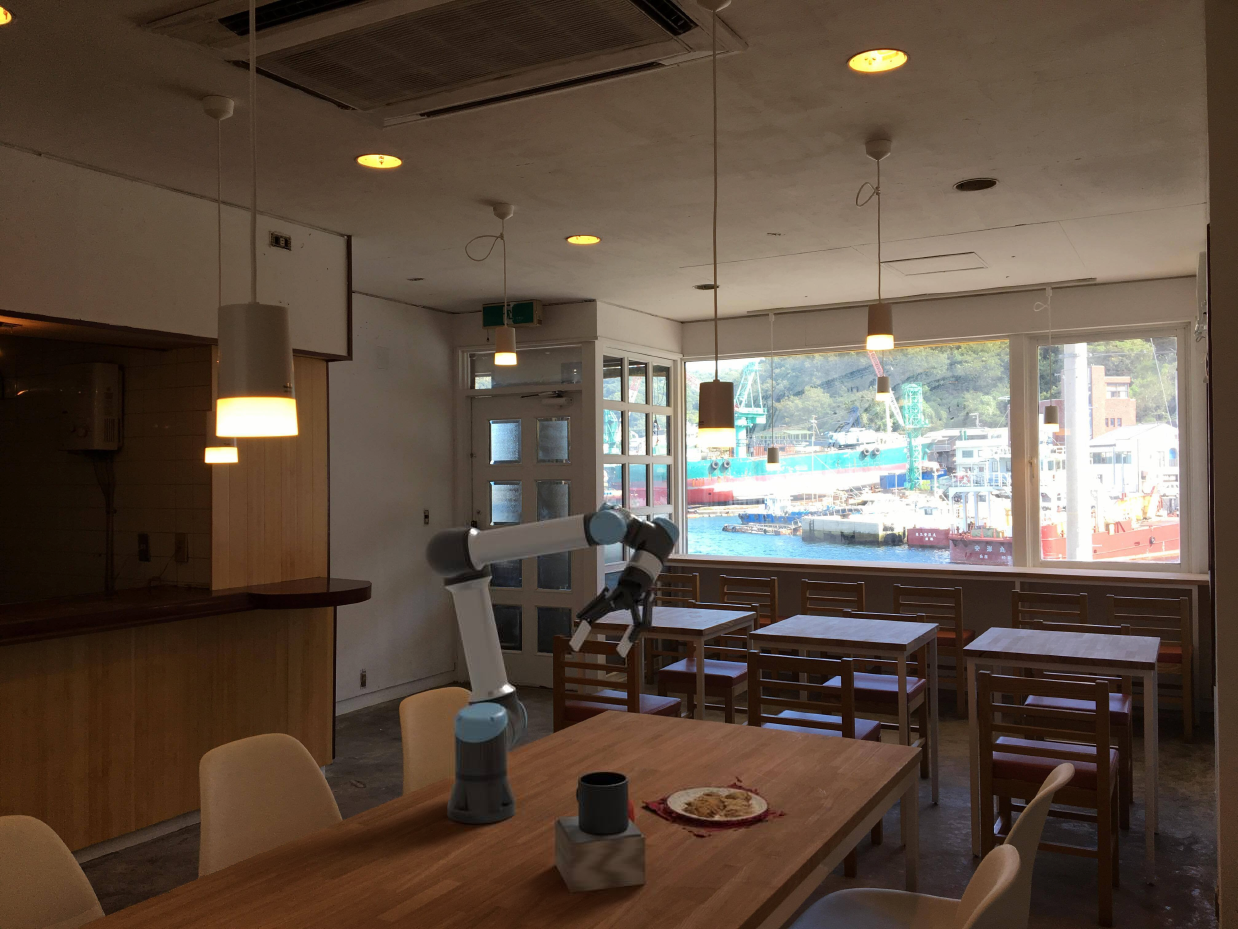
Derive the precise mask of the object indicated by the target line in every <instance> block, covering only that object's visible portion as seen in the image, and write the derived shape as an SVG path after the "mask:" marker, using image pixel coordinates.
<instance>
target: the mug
mask: <svg viewBox="0 0 1238 929" xmlns="http://www.w3.org/2000/svg"><path fill="white" fill-rule="evenodd" d="M575 796H576V802H577V804H578V805H577V809H578V810H577V811H578V814H577V815H578V819H579V828H580V830H581V831H583V832H585V833H589V834H594V835H611V834H616V833H620V832H623V831H625V830H626V829H627V828H628V826H629V803H628V798H629V778H628V776H627V775H625V774H623V773H619V772H613V771H596V772H595V771H593V772H589V773H585V774H583V775H580V776H579V777H578V778H577V788H576V791H575Z"/></svg>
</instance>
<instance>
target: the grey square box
mask: <svg viewBox="0 0 1238 929" xmlns="http://www.w3.org/2000/svg"><path fill="white" fill-rule="evenodd" d="M634 823H635V822H634ZM634 823H633V822H632V821H631V820H630V819H629V826H628V828H627V829H626V830H625V831H623V832H620V833H616V834H611V835H594V834H589V833H585V832H583V831H581V830H580V828H579V819H578V816H577V815H576V816H566V817H558V818H557V819H555V821H554V825H555V826H554V830H555V831H554V841H555V842H554V844H555V847H554V848H555V850H554V851H555V852H554V853H555V854H554V855H555V858H554V859H555V867H556V868H557V870H558V871H559V874H560V876H561V878H562V879H563V881H564V883H565V885H566V886H567V889H568V891H569V892H570V893H579V892H588V891H596V890H597V891H598V890H604V889H615V888H621V887H627V886H628V887H630V886H638V885H639V886H640V885H646V836H644V835H645V834H643V833H642V832H641V830H639V828H638V827H637V826H636V824H634Z"/></svg>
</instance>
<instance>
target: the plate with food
mask: <svg viewBox="0 0 1238 929" xmlns="http://www.w3.org/2000/svg"><path fill="white" fill-rule="evenodd" d="M735 779H736V781H737V782H736V781H735V782H733V783H732V784H729V785H727V786H724V785H722V786H718V785H717V786H716V785H715V786H710V785H709V786H702V787H701V786H698V787H697V786H696V787H689V788H686V787H685V788H683V789H680V790H677V791H675V792H673V793H672V794H669V795H668V796H663V797H662V798H660V799H657V800H651V801H647V800H646V801H644V800H641V803H642V804H644V805H645V806H646V807H649V809H651V810H655V811H656V813H657V814H659V815H660V816H661V817H664V818H666V819H668V820H667V821H669V822H670V821H675V822H676V824H678V825H685V826H692V827H695V828H700V829H703V830H704V831H706V832H705V834H704V833H703V832H700V831H699V830H698V831H697V832H695V831H694V830H692V829H690V828H688V827H687V828H686V827H682V829H683V830H685V831H688V833H689V832H691V831H692V832H693V834H695V835H697V836H704V837H707V838H708V837H709V836H712V834H711V833H714V832H723V831H725V830H730V829H733V831H739V829H740V830H741V829H745V830H746V828H749V827H750V828H751V827H753V825H751V824H753V823H757V821H761V823H762V822H763V821H762V820H763V819H765V818H767V819H766V822H770V823H773V822H774V820H775V819H783V818H784V817H786V816H789V814H788V813H787V812H785V811H783V810H781V811H780V812H779V813H777V810H775V809H773V810H771V808H773V805H771V804H770V803H769V802H768V801H767V799H766V798H765V797H764V796H762V795H760V792H759V791H758V789H757V788H755V789H754V790H753V789H752V788H746V787H744V786H742V785H740V784H741V783H743V780H741V778H740V777H738V776H737V775H735ZM738 783H740V784H738ZM662 804H663V806H661V805H662ZM769 806H771V807H769ZM771 815H772V818H769V817H770V816H771ZM780 815H781V816H780ZM782 815H783V816H782ZM707 832H708V833H707Z"/></svg>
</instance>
